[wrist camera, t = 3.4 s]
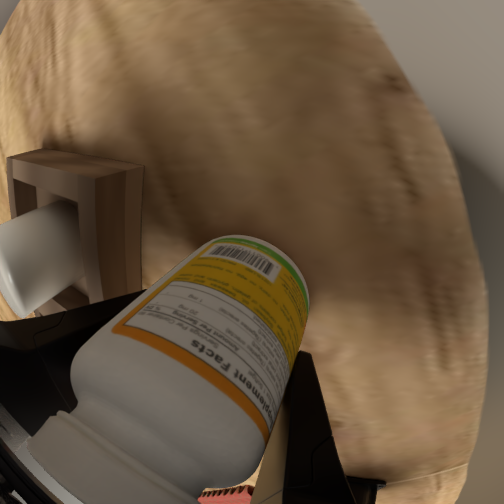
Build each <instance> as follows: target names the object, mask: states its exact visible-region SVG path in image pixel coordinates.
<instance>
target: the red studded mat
mask: <svg viewBox="0 0 504 504" xmlns="http://www.w3.org/2000/svg"><path fill="white" fill-rule="evenodd" d="M248 486H249V485H246V486H245V488H244V490H243V491H242V492H241V493H239V489H240V487H241V486H239V487H237V489H236V491H235V492H234V493H233V494H232V493H231V492H232V489H233V487H232V488H230V490H229V492H228V493H227V494H226V495H225V491H226V490H227V489H224V490H223V492H222V493H221V494H220V495H219V492H220V491H221V490H218V491H217V493H216V494H215V495H214V496H213V493H214V492H215V491H212V493H211V494H210V496H208V494H209V493H210V491H209V492H207V494H206V495H205V496H204V494H205V493H206V492H203V494H202V495H201V496H199V498H198V500H197V501H199V502H200V503H201V504H250V501H251V498H252V496H250V494H248V492H247V488H248ZM252 495H253V494H252Z"/></svg>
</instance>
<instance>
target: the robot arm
mask: <svg viewBox="0 0 504 504" xmlns="http://www.w3.org/2000/svg"><path fill="white" fill-rule="evenodd" d="M146 290H147V289H145V290H141V291H137V292H134V293H130V294H126V295H122V296H119V297H115V298H111V299H107V300H104V301H100V302H96V303H92V304H89V305H85V306H81V307H77V308H73V309H69V310H67V311H62V312H58V313H54V314H49V315H45V316H40V317H34V318H28V319H22V320H15V321H0V504H22V503H21V502H20V501H19V500H18V499H17V498H15V497H14V496H13V495H11V493H12V492H13V490H15V491H16V492H17V493H18V494H19V495H20V496H21V497H22V498H23V499H24V500H25V502H26V503H27V504H64V503H63V502H62V501H61V500H59V499H58V498H57V497H56V496H55V495H54V494H53V493H52V492H50V491H49V490H48V489H47V488H46V487H45V486H44V485H43V484H42V483H41V482H40V481H39V480H38V479H37V478H36V477H35V476H34V475H33V474H32V473H31V472H30V471H29V470H28V469H27V468H26V467H25V466H24V464H23V463H22V462H21V461H20V460H19V459H18V458H17V457H16V455H15V454H14V453H15V452H16V451H17V450H18V449H19V448H20V447H21V446H22V444H23V443H24V442H25V441H26V440H27V439H28V438H29V437H30V436H31V437H33V436H34V435H35V434H36V433H37V432H38V431H39V429H40V428H41V427H42V426H43V425H44V423H45V422H46V421H47V420H48V418H49V417H50V416H57V412H58V411H64V412H66V413H68V414H70V413H71V412H72V411H73V410H74V409H75V408H76V407H77V404H78V400H77V398H76V396H75V394H74V391H73V388H72V384H71V377H70V372H71V365H72V361H73V359H74V357H75V355H76V353H77V352H78V350H79V349H80V348H81V347H82V346H83V345H84V344H85V343H86V342H87V341H88V340H89V339H90V338H91V337H92V336H93V335H94V334H95V333H96V332H97V331H99V330H100V329H101V328H102V327H103V326H104V325H106V324H107V323H108V322H109V321H110V320H112V319H113V318H114V317H115V316H116V315H118V314H119V313H120V312H121V311H122V310H123V309H125V308H126V307H127V306H128V305H129V304H131V303H132V302H133V301H134V300H135V299H137V298H138V297H139V296H140V295H141V294H143V293H144V292H145V291H146ZM385 486H386V482H385V481H374V480H364V479H356V478H349V477H346V476H345V474H344V471H343V468H342V465H341V463H340V460H339V456H338V453H337V449H336V446H335V442H334V438H333V436H332V430H331V426H330V422H329V418H328V414H327V411H326V407H325V403H324V399H323V395H322V392H321V388H320V384H319V380H318V377H317V373H316V369H315V366H314V362H313V359H312V355H311V354H310V353H308V352H305V351H302V350H300V351H299V352H298V354H297V357H296V361H295V364H294V367H293V370H292V373H291V377H290V380H289V383H288V386H287V389H286V392H285V395H284V398H283V401H282V404H281V407H280V410H279V413H278V416H277V419H276V422H275V425H274V428H273V431H272V433H271V436H270V439H269V442H268V444H267V447H266V450H265V454H264V457H263V461H262V464H261V468H260V471H259V475H258V478H257V482H256V485H255V488H254V492H253V495H252V498H251V501H250V504H375V502H376V495H377V490H379V489H381V488H383V487H385Z"/></svg>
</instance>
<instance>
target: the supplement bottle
mask: <svg viewBox="0 0 504 504" xmlns="http://www.w3.org/2000/svg"><path fill="white" fill-rule="evenodd" d="M308 313H309V294H308V289H307V285H306V282H305V280H304V278H303V275H302V274H301V272H300V270H299V269H298V267H297V266H296V265H295V263H294V262H293V261H292V260H291V259H290V258H289V257H288V256H287V255H286V254H285V253H283V252H282V251H281V250H279V249H278V248H277V247H275V246H273V245H272V244H270V243H268V242H266V241H263V240H261V239H258V238H255V237H251V236H245V235H228V236H222V237H219V238H216V239H213V240H211V241H209V242H207V243H205V244H204V245H202V246H201V247H200V248H198V249H197V250H196V251H194V252H193V253H192V254H190V255H189V256H188V257H186V258H185V259H184V260H183V261H181V262H180V263H179V264H178V265H177V266H176V267H174V268H173V269H172V270H170V271H169V272H168V273H167V274H166V275H164V276H163V277H162V278H161V279H159V280H158V281H157V282H156V283H155V284H153V285H152V286H151V287H150V288H149V289H147V290H146V291H145V292H144V293H143V294H141V295H140V296H139V297H138V298H137V299H135V300H134V301H133V302H132V303H131V304H129V305H128V306H127V307H126V308H125V309H123V310H122V311H121V312H120V313H119V314H118V315H116V316H115V317H114V318H113V319H112V320H110V321H109V322H108V323H107V324H106V325H104V326H103V327H102V328H101V329H100V330H99V331H97V332H96V333H95V334H94V335H93V336H92V337H91V338H90V339H89V340H88V341H87V342H86V343H85V344H84V345H83V346H82V347H81V348H80V349H79V350H78V352H77V353H76V355H75V357H74V359H73V361H72V365H71V372H70V377H71V384H72V388H73V391H74V394H75V396H76V398H77V400H78V404H77V407H76V408H75V409H74V410H73V411H72V412H71V413H70V414H68V413H66V412H64V411H58V412H57V416H50V417H49V418H48V420H47V421H46V422H45V423H44V425H43V426H42V427H41V428H40V429H39V431H38V432H37V433H36V434H35V435H34V436H33V437H32V438H31V440H30V441H29V442H28V444H27V449H28V450H29V452H30V454H31V455H32V456H33V457H34V458H35V460H36V461H37V462H38V463H39V464H40V465H41V466H42V467H43V468H44V470H46V472H47V473H48V474H49V475H51V477H53V478H54V479H55V480H56V481H57V482H58V483H59V484H60V485H61V486H62V487H64V488H65V489H66V490H67V491H68V492H70V493H71V494H72V495H73V496H75V497H76V498H77V499H78V500H80V501H81V502H82V503H84V504H201V503H200V502H199V501H197V500H198V498H199V496H200V494H201V493H202V491H203V490H204V489H205V488H227V487H232V486H236V485H238V484H240V483H242V482H244V481H246V480H247V479H248V478H249V477H251V476H252V475H253V473H254V472H255V471H256V469H257V468H258V466H259V463H260V461H261V459H262V457H263V454H264V452H265V450H266V447H267V444H268V442H269V439H270V436H271V433H272V431H273V428H274V425H275V422H276V419H277V416H278V413H279V410H280V407H281V404H282V401H283V398H284V395H285V392H286V389H287V386H288V383H289V380H290V377H291V373H292V370H293V367H294V364H295V361H296V357H297V354H298V351H299V347H300V344H301V341H302V337H303V334H304V330H305V326H306V322H307V317H308Z"/></svg>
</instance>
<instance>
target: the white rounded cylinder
mask: <svg viewBox="0 0 504 504" xmlns="http://www.w3.org/2000/svg"><path fill="white" fill-rule="evenodd" d="M84 276H85V272H84V265H83V258H82V249H81V240H80V228H79V214H78V212H77V211H76V209H75V208H74V207H73V206H72V205H71V204H69V203H68V202H66V201H64V200H58V201H55V202H52V203H50V204H47V205H45V206H42V207H40V208H37V209H35V210H32V211H30V212H28V213H25V214H23V215H21V216H18V217H16V218H14V219H12V220H9V221H7V222H5V223H3V224H1V225H0V291H1V293H2V295H3V296H4V298H5V300H6V301H7V303H8V304H9V306H10V307H11V308H12V310H13V311H14V312H15V313H16V314H17V315H18V316H19V317H21V318H25V317H26V316H27V315H29V314H30V313H32V312H33V311H34V310H36V309H37V308H38V307H40V306H41V305H43V304H44V303H45V302H47V301H48V300H50V299H51V298H53V297H54V296H55V295H57V294H58V293H60V292H61V291H63V290H64V289H66V288H67V287H69V286H70V285H72V284H73V283H75V282H76V281H78V280H79V279H81V278H82V277H84Z"/></svg>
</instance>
